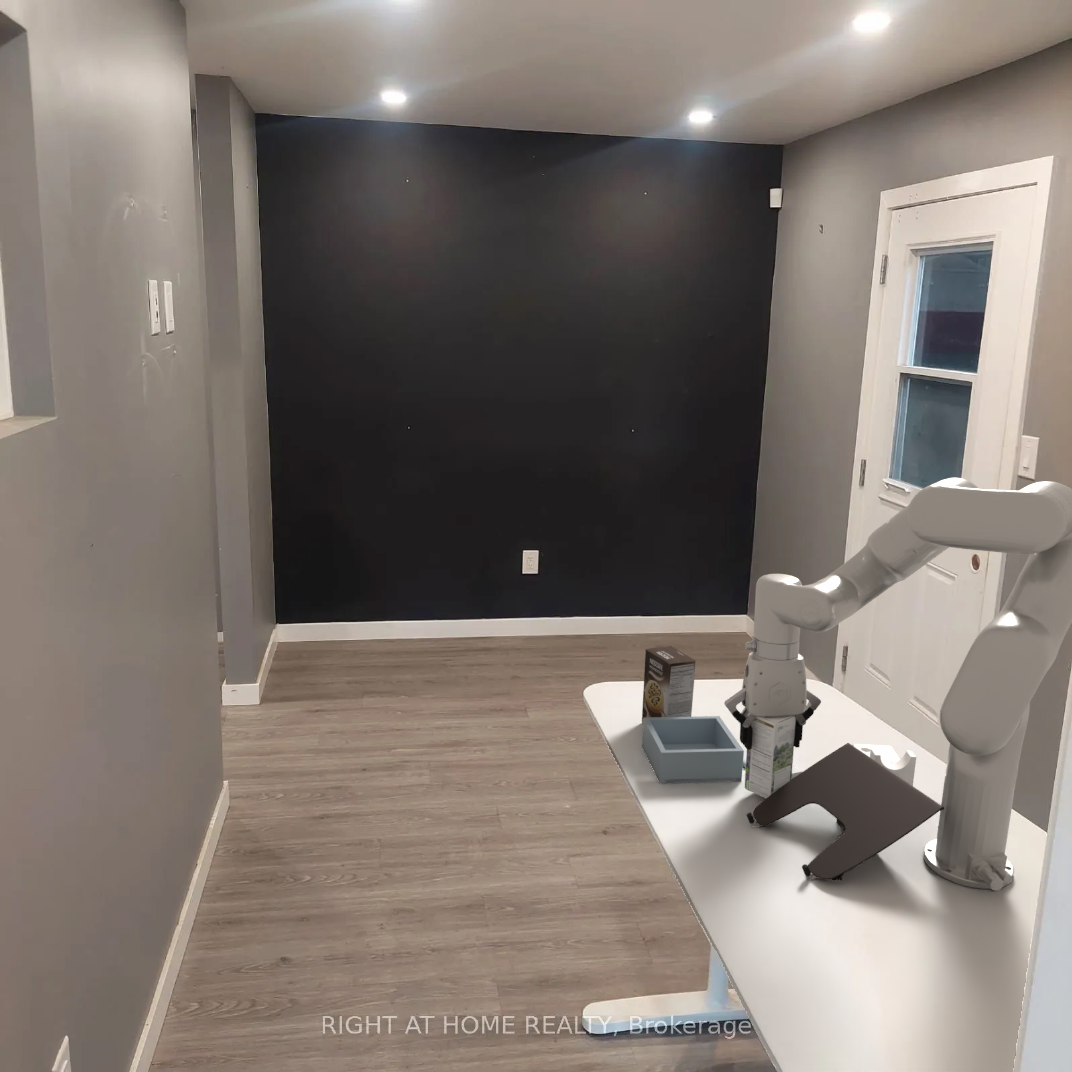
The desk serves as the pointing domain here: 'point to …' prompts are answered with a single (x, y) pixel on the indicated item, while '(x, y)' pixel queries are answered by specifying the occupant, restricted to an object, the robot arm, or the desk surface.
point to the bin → (692, 749)
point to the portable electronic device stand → (850, 808)
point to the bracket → (891, 760)
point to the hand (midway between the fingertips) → (770, 744)
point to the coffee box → (668, 683)
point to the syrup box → (770, 754)
